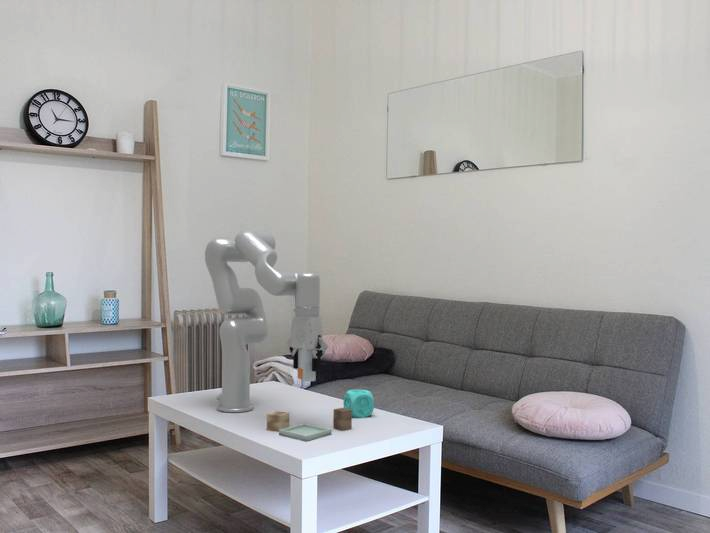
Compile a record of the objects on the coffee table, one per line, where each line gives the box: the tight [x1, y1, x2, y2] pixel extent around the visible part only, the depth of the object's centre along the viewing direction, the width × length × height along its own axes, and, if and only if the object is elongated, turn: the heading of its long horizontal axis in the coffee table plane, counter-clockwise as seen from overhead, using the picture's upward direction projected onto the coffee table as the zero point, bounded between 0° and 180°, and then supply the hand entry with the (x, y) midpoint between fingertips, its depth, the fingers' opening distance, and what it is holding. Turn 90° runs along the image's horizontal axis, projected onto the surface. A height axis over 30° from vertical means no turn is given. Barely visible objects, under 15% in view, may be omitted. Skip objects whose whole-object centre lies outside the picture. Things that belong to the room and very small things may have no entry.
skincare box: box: [297, 343, 317, 383], centre depth 209 cm, size 6×4×12 cm
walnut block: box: [332, 407, 353, 432], centre depth 208 cm, size 4×4×6 cm
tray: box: [278, 422, 333, 442], centre depth 200 cm, size 11×11×2 cm
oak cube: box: [266, 410, 290, 433], centre depth 206 cm, size 5×5×5 cm
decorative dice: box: [343, 389, 375, 419], centre depth 227 cm, size 8×8×8 cm
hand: (306, 369), depth 209 cm, fingers closed on skincare box, 7 cm apart
